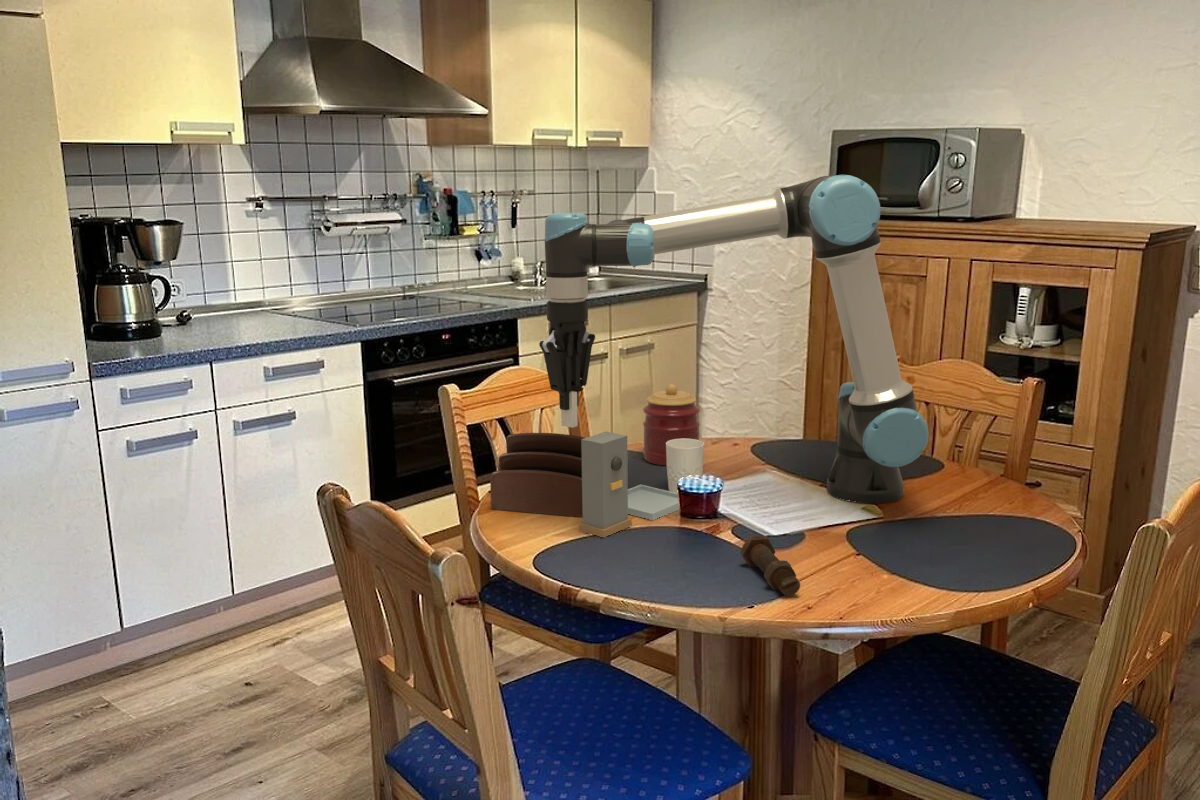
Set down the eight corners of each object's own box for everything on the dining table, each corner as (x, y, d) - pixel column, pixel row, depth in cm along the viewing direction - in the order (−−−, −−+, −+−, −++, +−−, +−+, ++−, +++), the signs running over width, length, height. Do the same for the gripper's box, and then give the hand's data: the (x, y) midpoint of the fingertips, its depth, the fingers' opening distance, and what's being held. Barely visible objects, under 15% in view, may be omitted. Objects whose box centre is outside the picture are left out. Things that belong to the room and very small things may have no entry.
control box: (632, 526, 185) (631, 435, 182) (604, 538, 180) (603, 444, 176) (607, 519, 189) (606, 430, 186) (579, 531, 183) (577, 439, 180)
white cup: (663, 494, 204) (663, 447, 202) (667, 483, 212) (667, 437, 209) (702, 496, 203) (702, 448, 201) (704, 484, 210) (705, 438, 208)
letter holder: (509, 495, 205) (507, 429, 202) (601, 503, 200) (600, 435, 197) (490, 510, 196) (487, 441, 193) (586, 519, 190) (585, 448, 187)
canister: (662, 448, 239) (662, 376, 235) (709, 456, 231) (710, 382, 228) (632, 461, 229) (631, 385, 225) (680, 470, 221) (681, 392, 217)
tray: (692, 503, 198) (692, 496, 198) (652, 520, 188) (652, 513, 188) (640, 490, 207) (640, 484, 206) (599, 507, 197) (599, 500, 197)
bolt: (785, 610, 154) (750, 571, 168) (813, 592, 154) (776, 555, 168) (769, 582, 152) (735, 544, 166) (796, 564, 152) (761, 528, 166)
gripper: (575, 294, 188) (577, 416, 193) (527, 301, 178) (530, 429, 183) (606, 297, 183) (607, 422, 188) (557, 304, 174) (560, 435, 179)
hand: (569, 425), depth 186 cm, fingers closed
